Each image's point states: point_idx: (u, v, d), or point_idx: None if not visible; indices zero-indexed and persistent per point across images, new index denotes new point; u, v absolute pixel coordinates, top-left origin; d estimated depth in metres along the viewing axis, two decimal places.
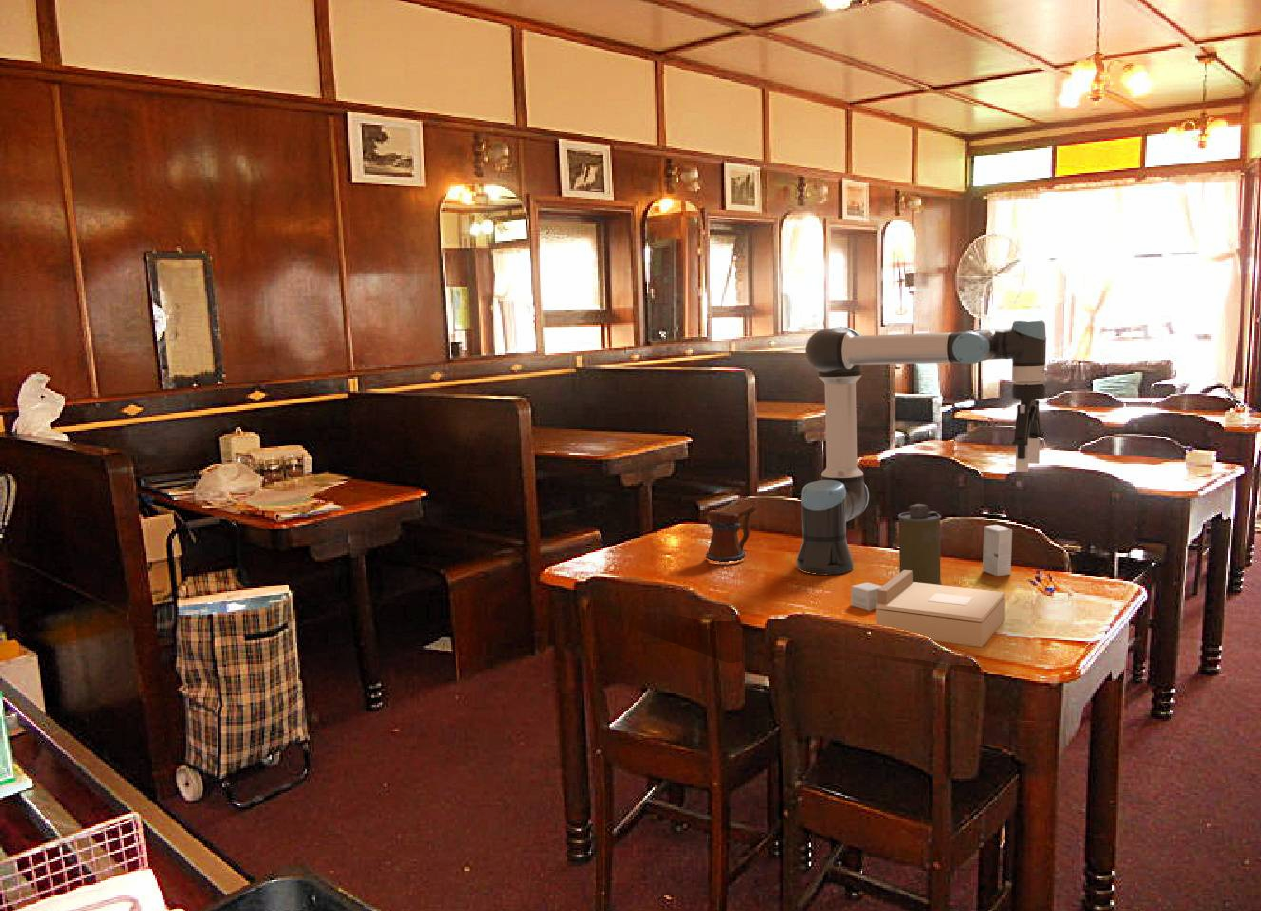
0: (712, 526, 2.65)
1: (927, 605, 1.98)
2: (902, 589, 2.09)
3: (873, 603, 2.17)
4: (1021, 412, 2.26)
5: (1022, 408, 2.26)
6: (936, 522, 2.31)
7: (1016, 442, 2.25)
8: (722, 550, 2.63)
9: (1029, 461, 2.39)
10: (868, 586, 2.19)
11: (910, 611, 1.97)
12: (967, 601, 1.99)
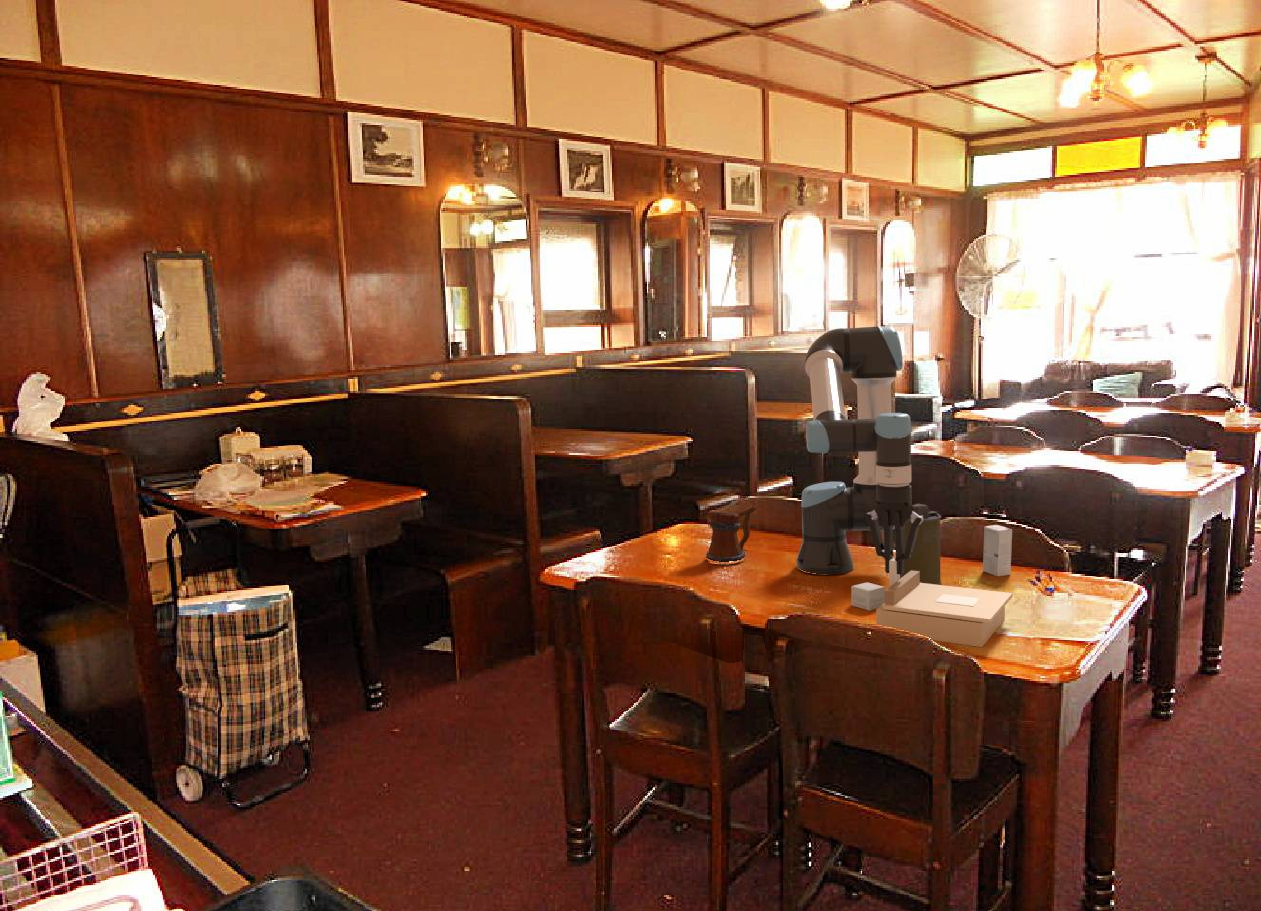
0: (712, 526, 2.65)
1: (934, 606, 1.97)
2: (909, 590, 2.08)
3: (873, 603, 2.17)
4: None
5: None
6: (936, 522, 2.31)
7: None
8: (722, 550, 2.63)
9: None
10: (868, 585, 2.19)
11: (917, 612, 1.96)
12: (975, 602, 1.98)
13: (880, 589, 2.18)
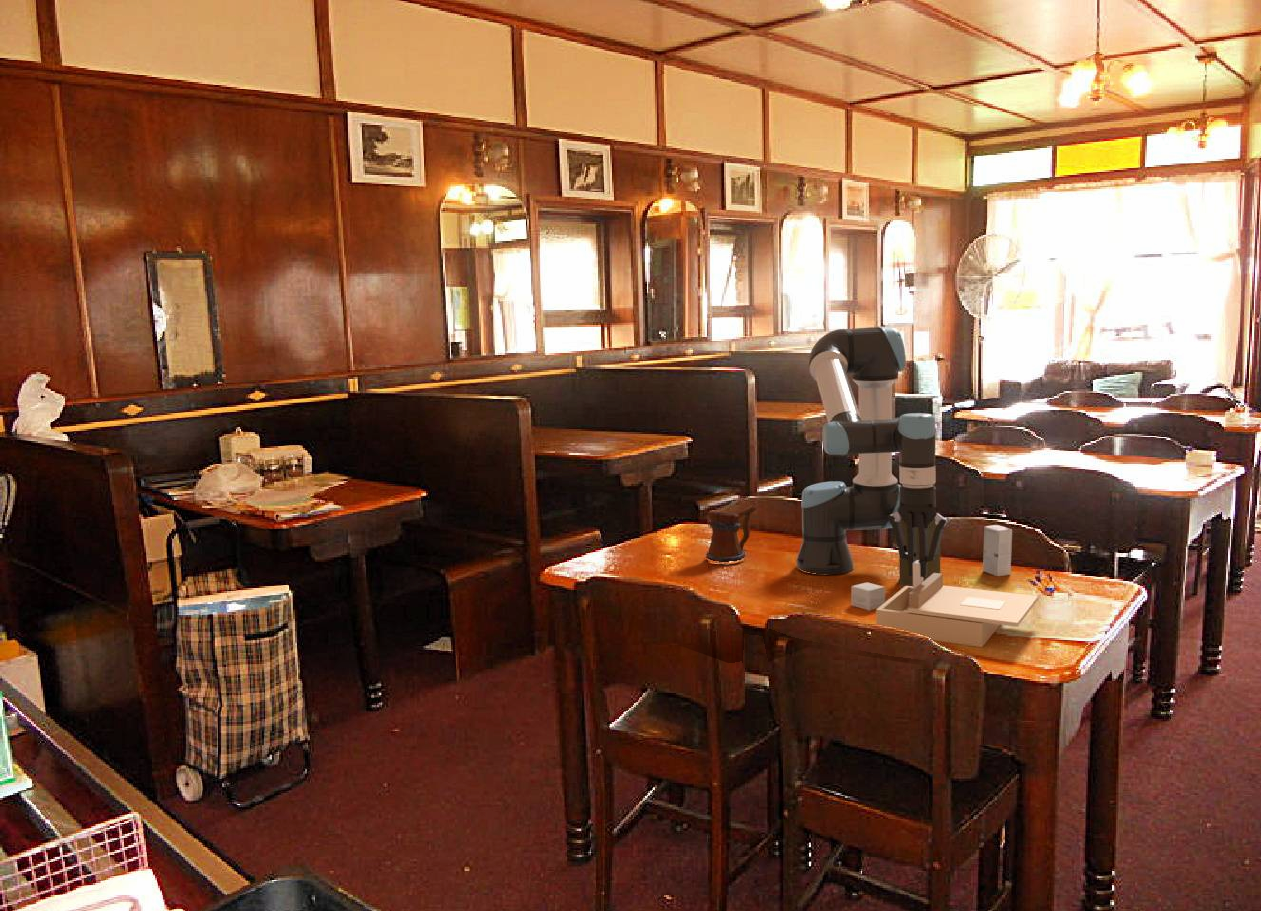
0: (712, 526, 2.65)
1: (959, 609, 1.95)
2: (933, 593, 2.05)
3: (873, 603, 2.17)
4: None
5: None
6: None
7: None
8: (722, 550, 2.63)
9: None
10: (868, 585, 2.19)
11: (943, 615, 1.93)
12: (1000, 605, 1.96)
13: (880, 589, 2.18)
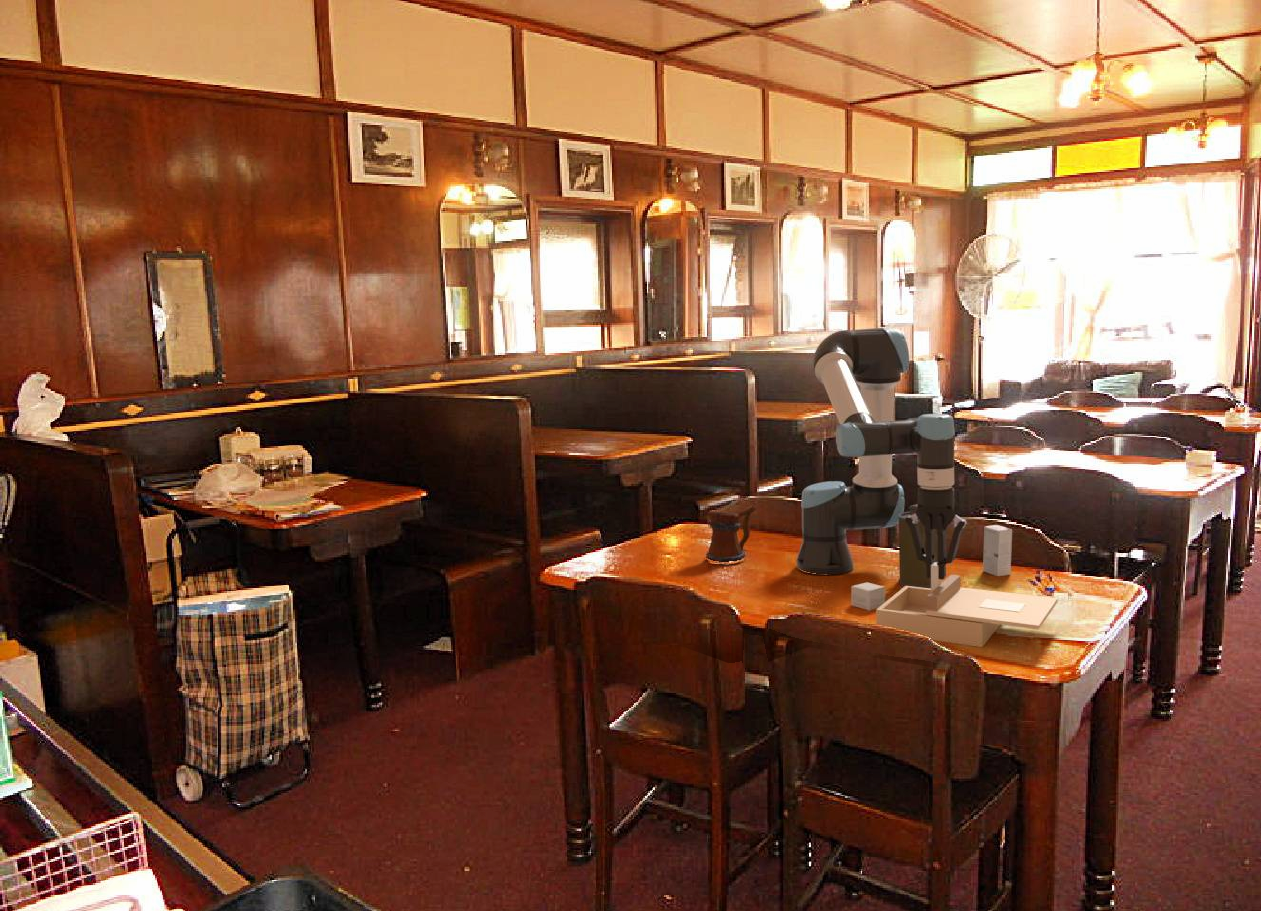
0: (712, 526, 2.65)
1: (979, 612, 1.92)
2: (951, 595, 2.03)
3: (873, 603, 2.17)
4: None
5: None
6: None
7: None
8: (722, 550, 2.63)
9: None
10: (868, 585, 2.19)
11: (962, 618, 1.91)
12: (1020, 607, 1.93)
13: (880, 589, 2.18)
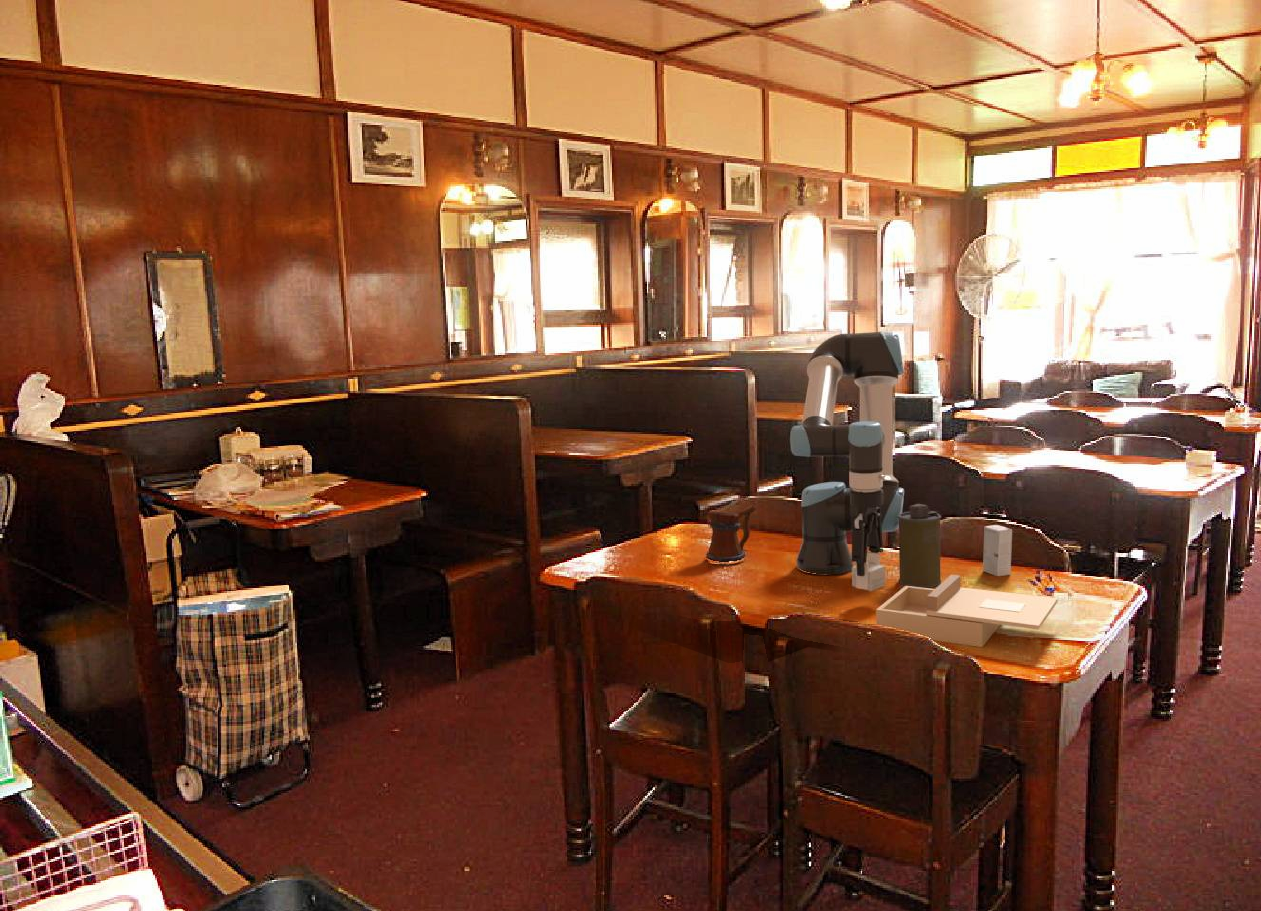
0: (712, 526, 2.65)
1: (979, 612, 1.92)
2: (951, 595, 2.03)
3: (875, 583, 2.17)
4: (856, 527, 2.13)
5: (856, 524, 2.12)
6: (936, 522, 2.31)
7: (854, 560, 2.13)
8: (722, 550, 2.63)
9: None
10: (868, 566, 2.19)
11: (962, 618, 1.91)
12: (1020, 607, 1.93)
13: (881, 569, 2.18)
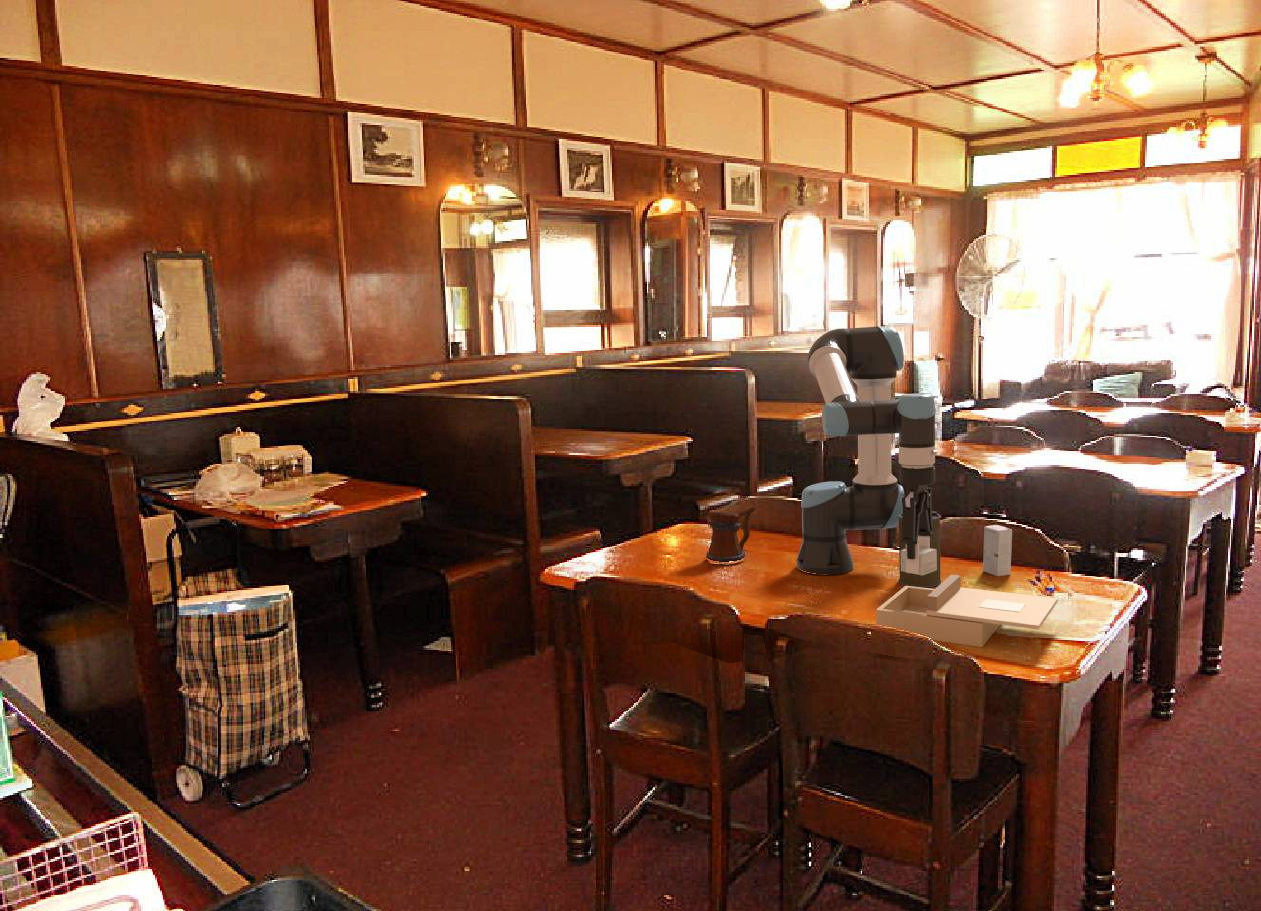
0: (712, 526, 2.65)
1: (979, 612, 1.92)
2: (951, 595, 2.03)
3: (926, 567, 2.02)
4: (907, 506, 1.98)
5: (907, 502, 1.97)
6: (936, 522, 2.31)
7: (904, 541, 1.98)
8: (722, 550, 2.63)
9: None
10: None
11: (962, 618, 1.91)
12: (1020, 607, 1.93)
13: (932, 552, 2.03)
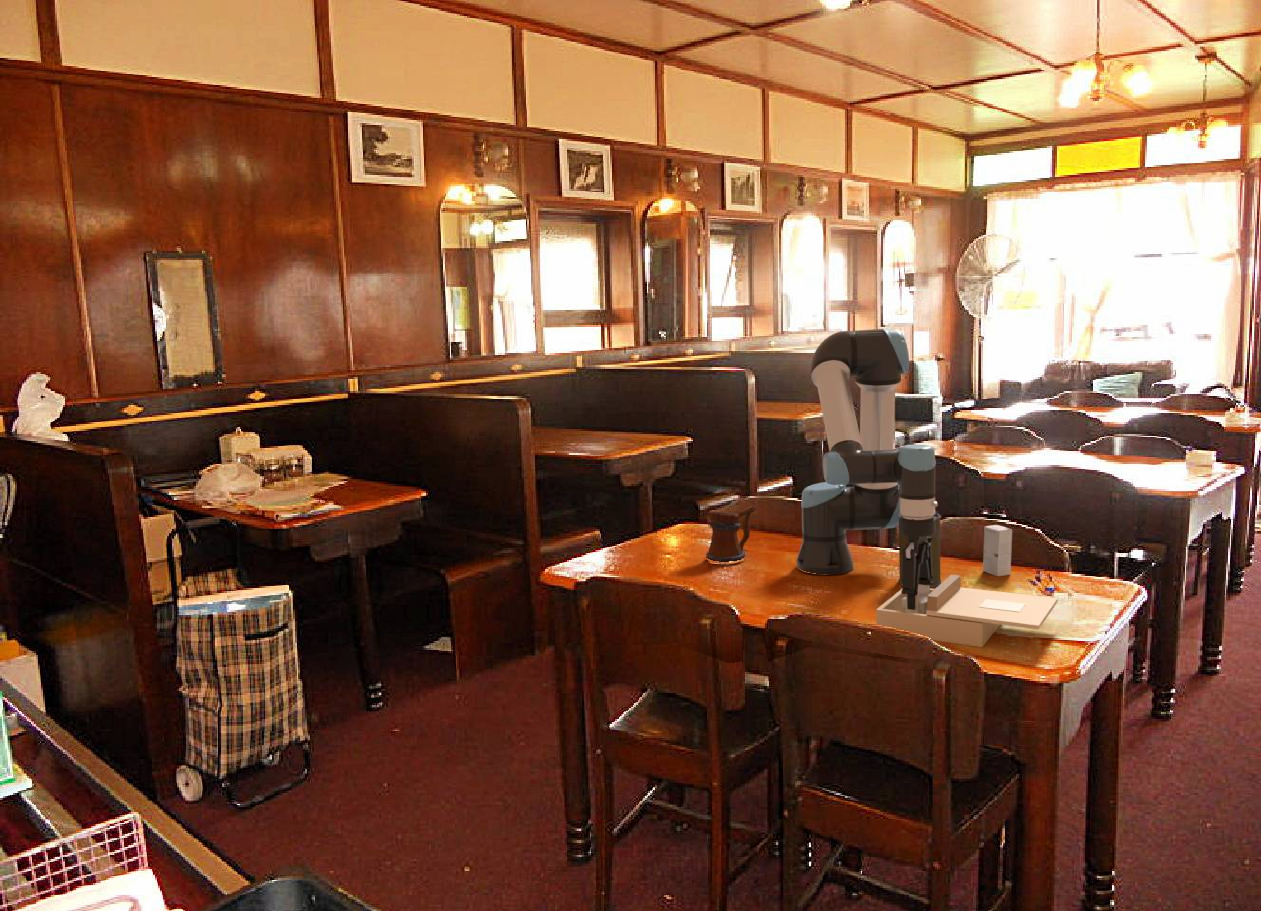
0: (712, 526, 2.65)
1: (979, 612, 1.92)
2: (951, 595, 2.03)
3: None
4: (907, 557, 1.99)
5: (908, 554, 1.99)
6: (936, 522, 2.31)
7: (904, 592, 2.00)
8: (722, 550, 2.63)
9: None
10: (919, 597, 2.06)
11: (962, 618, 1.91)
12: (1020, 607, 1.93)
13: None
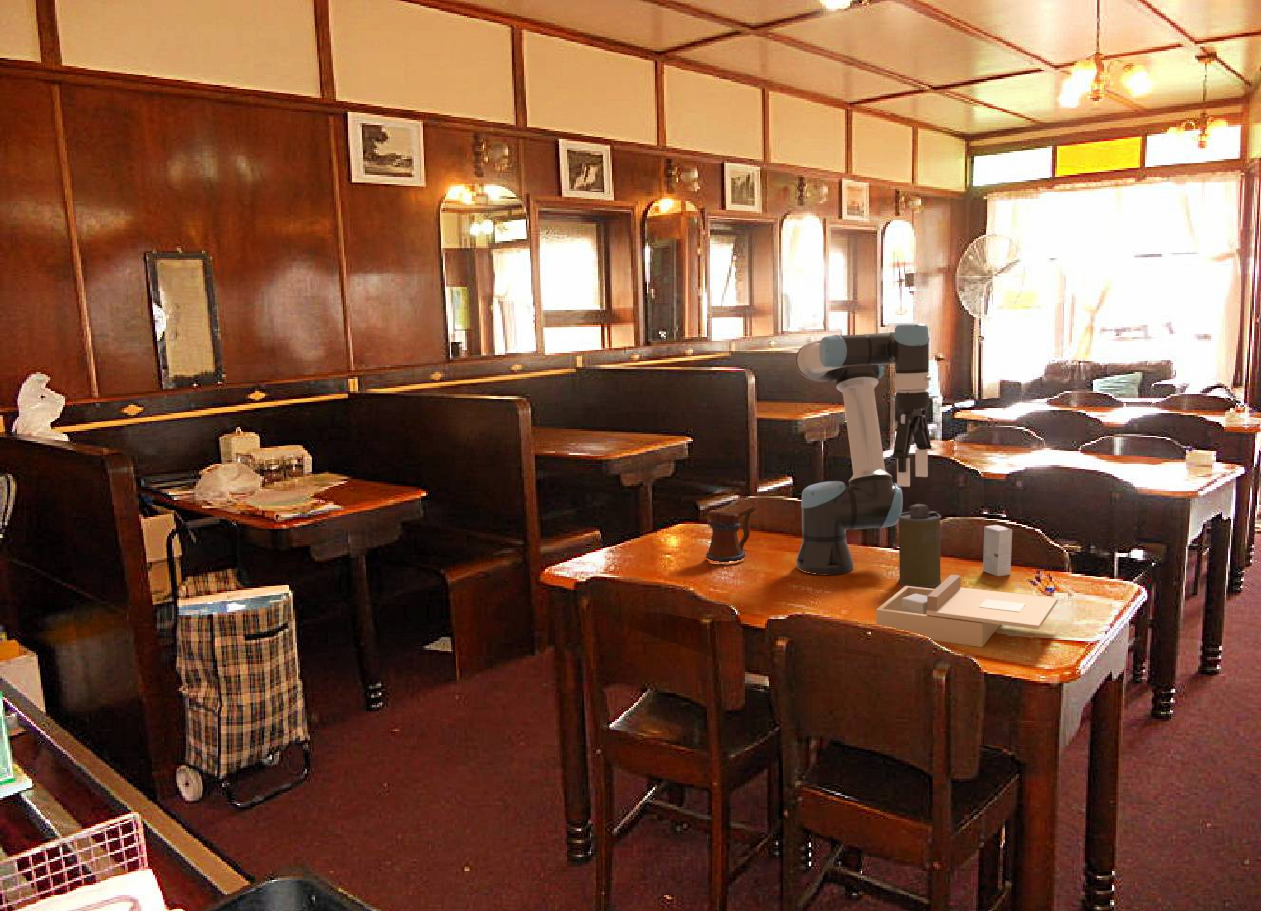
0: (712, 526, 2.65)
1: (979, 612, 1.92)
2: (951, 595, 2.03)
3: None
4: (901, 422, 2.11)
5: (902, 418, 2.11)
6: (936, 522, 2.31)
7: (895, 455, 2.10)
8: (722, 550, 2.63)
9: (917, 474, 2.25)
10: (919, 597, 2.06)
11: (962, 618, 1.91)
12: (1020, 607, 1.93)
13: None
